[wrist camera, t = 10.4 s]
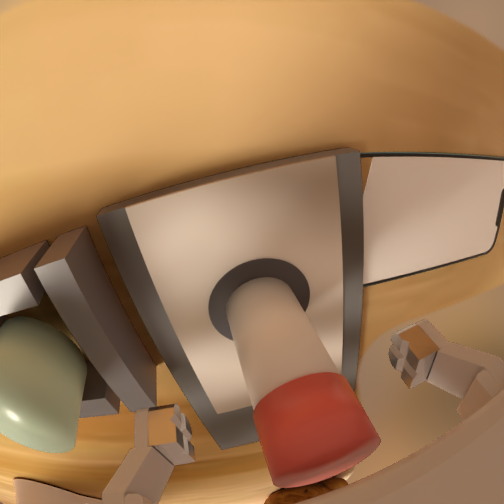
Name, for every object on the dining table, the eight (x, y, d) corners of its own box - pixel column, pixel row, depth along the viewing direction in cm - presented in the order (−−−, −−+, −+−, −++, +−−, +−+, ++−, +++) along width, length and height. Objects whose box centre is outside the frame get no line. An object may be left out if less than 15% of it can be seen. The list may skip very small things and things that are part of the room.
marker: (298, 321, 15) (371, 459, 8) (232, 341, 15) (279, 494, 8) (291, 265, 13) (390, 421, 6) (215, 288, 13) (265, 469, 6)
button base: (156, 366, 16) (156, 408, 13) (40, 385, 15) (31, 420, 13) (86, 225, 12) (64, 258, 9) (-36, 274, 11) (-61, 305, 8)
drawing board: (347, 400, 22) (353, 412, 21) (219, 439, 21) (222, 452, 20) (348, 147, 13) (363, 152, 12) (102, 208, 12) (94, 219, 10)
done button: (105, 384, 13) (98, 452, 9) (35, 392, 12) (20, 451, 9) (52, 306, 10) (21, 379, 7) (-18, 325, 10) (-49, 384, 6)
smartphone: (318, 292, 17) (488, 249, 19) (321, 298, 16) (492, 252, 19) (322, 149, 13) (506, 156, 15) (327, 151, 13) (511, 158, 15)
